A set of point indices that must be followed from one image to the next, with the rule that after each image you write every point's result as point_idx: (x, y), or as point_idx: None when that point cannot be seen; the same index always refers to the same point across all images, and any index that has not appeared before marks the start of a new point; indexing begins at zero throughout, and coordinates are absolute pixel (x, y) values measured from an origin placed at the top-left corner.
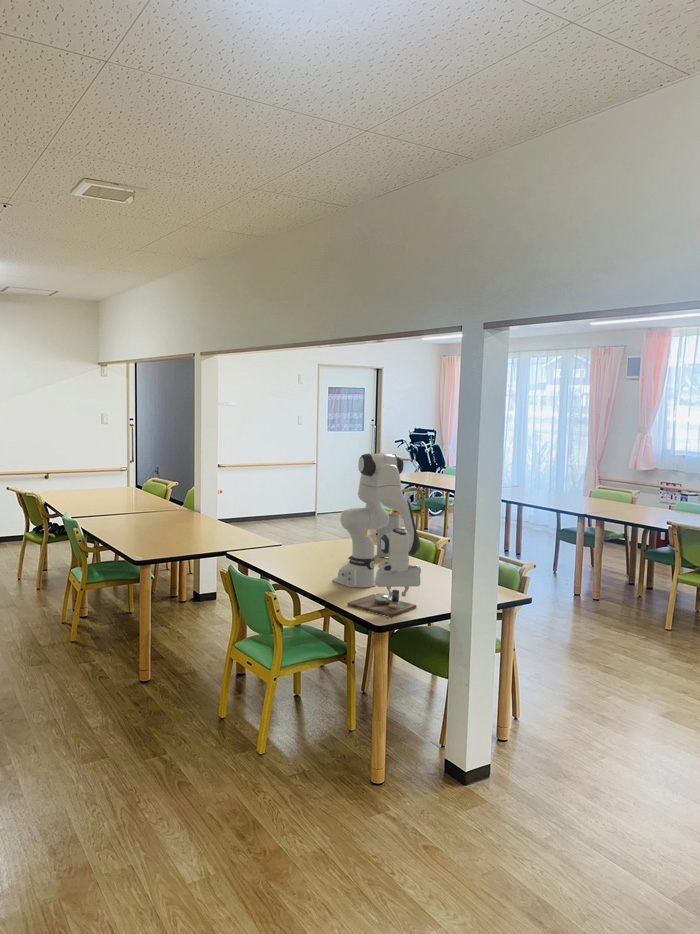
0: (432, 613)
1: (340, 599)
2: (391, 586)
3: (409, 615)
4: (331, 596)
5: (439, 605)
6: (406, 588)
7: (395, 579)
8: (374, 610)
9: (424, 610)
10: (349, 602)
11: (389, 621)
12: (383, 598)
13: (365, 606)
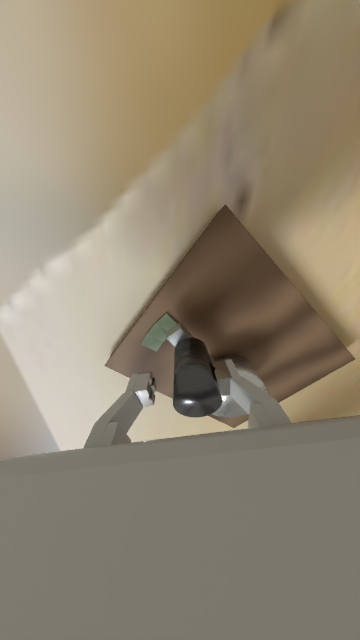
0: (36, 309)
1: (328, 397)
2: (264, 428)
3: (128, 268)
4: (339, 411)
5: (42, 388)
6: (111, 425)
7: (270, 625)
8: (289, 283)
9: (77, 339)
10: (346, 361)
11: (247, 119)
12: (239, 373)
13: (310, 326)
